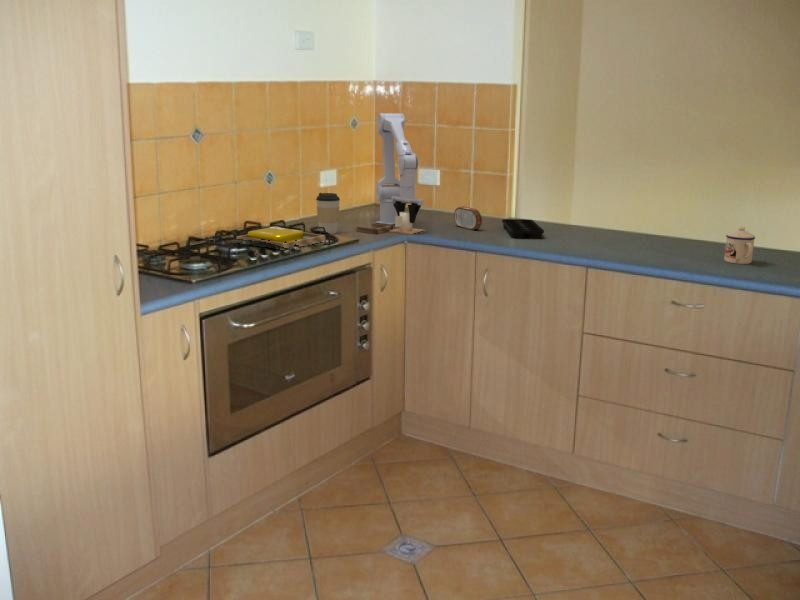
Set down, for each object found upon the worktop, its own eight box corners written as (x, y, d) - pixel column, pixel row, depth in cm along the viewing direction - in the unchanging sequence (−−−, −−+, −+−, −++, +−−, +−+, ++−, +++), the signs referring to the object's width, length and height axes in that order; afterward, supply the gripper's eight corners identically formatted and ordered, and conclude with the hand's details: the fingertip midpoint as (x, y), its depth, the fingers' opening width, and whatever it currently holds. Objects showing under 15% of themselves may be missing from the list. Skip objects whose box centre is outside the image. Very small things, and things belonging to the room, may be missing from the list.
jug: (400, 232, 328) (400, 214, 327) (391, 230, 332) (391, 212, 330) (414, 230, 333) (415, 212, 332) (406, 228, 337) (406, 211, 335)
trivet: (403, 228, 341) (403, 227, 341) (424, 231, 336) (424, 229, 336) (389, 231, 333) (389, 230, 333) (411, 234, 328) (411, 233, 328)
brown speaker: (482, 231, 340) (483, 209, 338) (475, 231, 339) (476, 210, 337) (458, 225, 352) (459, 204, 350) (452, 226, 351) (453, 205, 349)
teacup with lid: (718, 259, 294) (722, 225, 291) (742, 258, 295) (746, 225, 292) (736, 266, 282) (741, 231, 279) (762, 266, 284) (766, 230, 281)
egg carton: (513, 241, 322) (514, 231, 321) (488, 228, 350) (488, 218, 349) (557, 240, 326) (558, 230, 325) (528, 227, 354) (529, 218, 353)
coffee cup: (341, 231, 332) (341, 192, 329) (337, 234, 324) (337, 194, 320) (318, 230, 333) (318, 191, 330) (313, 234, 325) (313, 194, 321)
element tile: (245, 243, 304) (245, 230, 303) (273, 238, 316) (273, 225, 315) (278, 248, 296) (278, 235, 295) (305, 242, 309) (305, 229, 308)
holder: (373, 227, 341) (373, 223, 341) (392, 230, 336) (392, 225, 336) (356, 231, 332) (356, 226, 332) (376, 234, 327) (376, 229, 327)
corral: (278, 235, 320) (278, 228, 319) (325, 242, 308) (325, 235, 308) (236, 243, 302) (236, 236, 301) (285, 251, 290) (284, 243, 290)
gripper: (428, 187, 328) (427, 223, 332) (399, 184, 337) (399, 218, 341) (417, 189, 323) (416, 225, 326) (388, 185, 332) (387, 220, 335)
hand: (406, 221), depth 333 cm, fingers closed on jug, 5 cm apart
